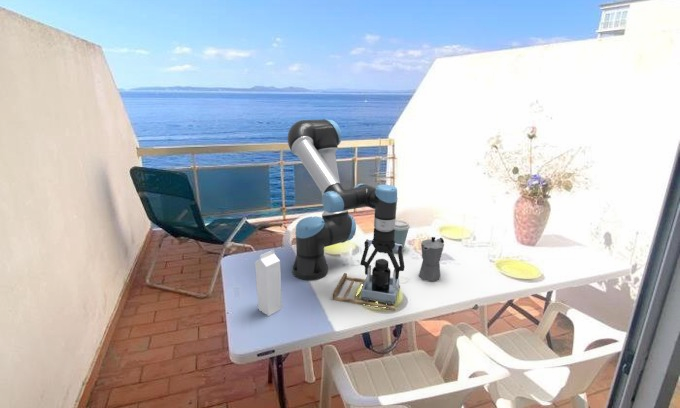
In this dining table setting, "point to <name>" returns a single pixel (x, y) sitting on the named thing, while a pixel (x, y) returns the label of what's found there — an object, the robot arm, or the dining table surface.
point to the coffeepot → (431, 259)
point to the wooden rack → (355, 301)
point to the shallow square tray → (380, 296)
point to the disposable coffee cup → (400, 233)
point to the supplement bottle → (381, 276)
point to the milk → (268, 283)
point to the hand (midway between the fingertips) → (381, 284)
